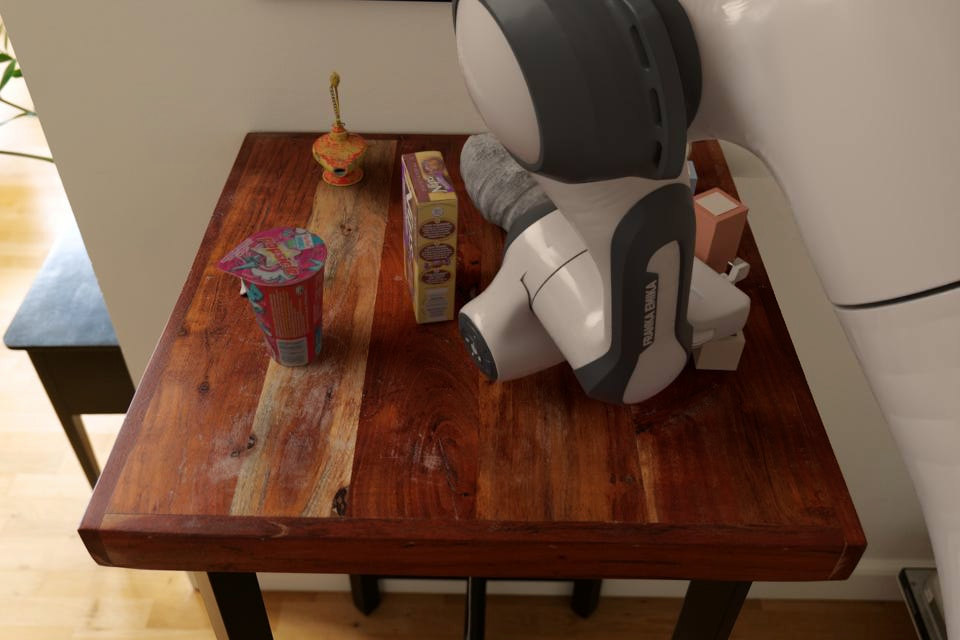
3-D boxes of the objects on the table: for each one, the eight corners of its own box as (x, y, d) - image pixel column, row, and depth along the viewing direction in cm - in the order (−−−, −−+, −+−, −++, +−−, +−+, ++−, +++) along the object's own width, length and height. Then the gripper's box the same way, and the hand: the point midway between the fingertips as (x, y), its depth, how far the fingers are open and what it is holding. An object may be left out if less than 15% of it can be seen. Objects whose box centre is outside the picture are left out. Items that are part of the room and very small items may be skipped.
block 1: (691, 206, 106) (697, 177, 103) (659, 204, 106) (664, 176, 103) (686, 187, 109) (692, 160, 106) (655, 186, 109) (660, 158, 106)
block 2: (736, 370, 85) (745, 340, 82) (695, 369, 85) (704, 339, 82) (728, 342, 88) (737, 313, 85) (689, 341, 88) (697, 311, 85)
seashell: (585, 266, 96) (595, 192, 90) (455, 262, 96) (456, 187, 90) (576, 187, 108) (584, 116, 102) (460, 183, 108) (461, 112, 102)
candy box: (458, 320, 89) (459, 198, 79) (417, 326, 88) (413, 203, 78) (442, 268, 96) (441, 148, 85) (403, 272, 95) (398, 153, 85)
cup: (305, 308, 90) (291, 215, 82) (355, 350, 86) (345, 255, 78) (228, 351, 85) (205, 256, 77) (277, 397, 81) (258, 301, 73)
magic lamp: (315, 226, 101) (305, 144, 93) (315, 146, 114) (306, 69, 106) (374, 222, 102) (368, 141, 94) (367, 143, 115) (361, 66, 107)
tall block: (723, 299, 93) (749, 207, 85) (692, 314, 91) (717, 221, 83) (694, 277, 96) (717, 186, 87) (664, 291, 94) (684, 198, 86)
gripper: (690, 327, 75) (798, 274, 81) (551, 211, 87) (653, 173, 93) (677, 377, 79) (781, 324, 85) (546, 259, 92) (644, 220, 97)
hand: (712, 244), depth 89 cm, fingers open, 7 cm apart
